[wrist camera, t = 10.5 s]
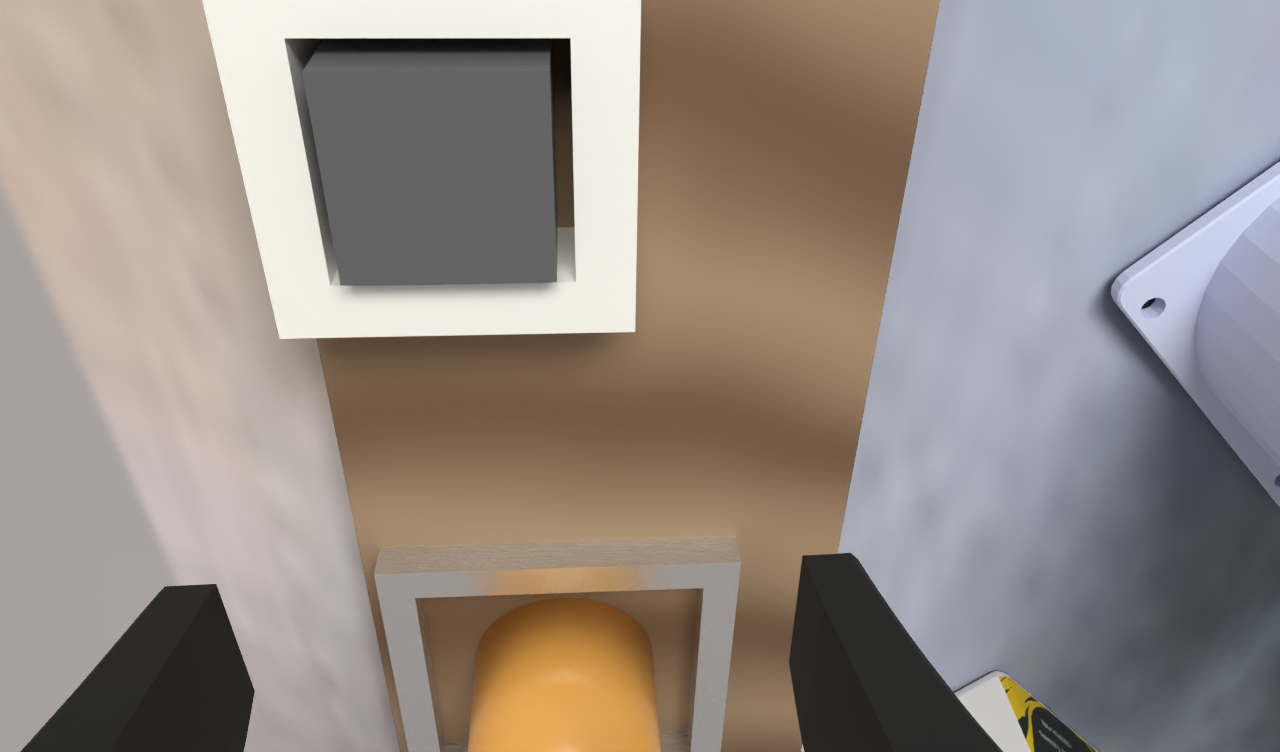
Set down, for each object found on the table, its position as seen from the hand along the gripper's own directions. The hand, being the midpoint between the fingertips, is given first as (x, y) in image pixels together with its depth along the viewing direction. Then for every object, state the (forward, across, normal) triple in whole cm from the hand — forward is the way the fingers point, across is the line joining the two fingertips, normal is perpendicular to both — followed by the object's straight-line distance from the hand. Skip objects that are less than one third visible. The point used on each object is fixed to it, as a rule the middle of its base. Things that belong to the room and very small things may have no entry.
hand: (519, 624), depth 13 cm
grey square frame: (+8, 0, +10) cm, 13 cm away
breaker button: (+8, +1, -4) cm, 9 cm away
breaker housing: (+8, +1, -4) cm, 9 cm away
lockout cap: (+8, 0, +10) cm, 13 cm away
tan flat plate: (+9, -1, +4) cm, 10 cm away
